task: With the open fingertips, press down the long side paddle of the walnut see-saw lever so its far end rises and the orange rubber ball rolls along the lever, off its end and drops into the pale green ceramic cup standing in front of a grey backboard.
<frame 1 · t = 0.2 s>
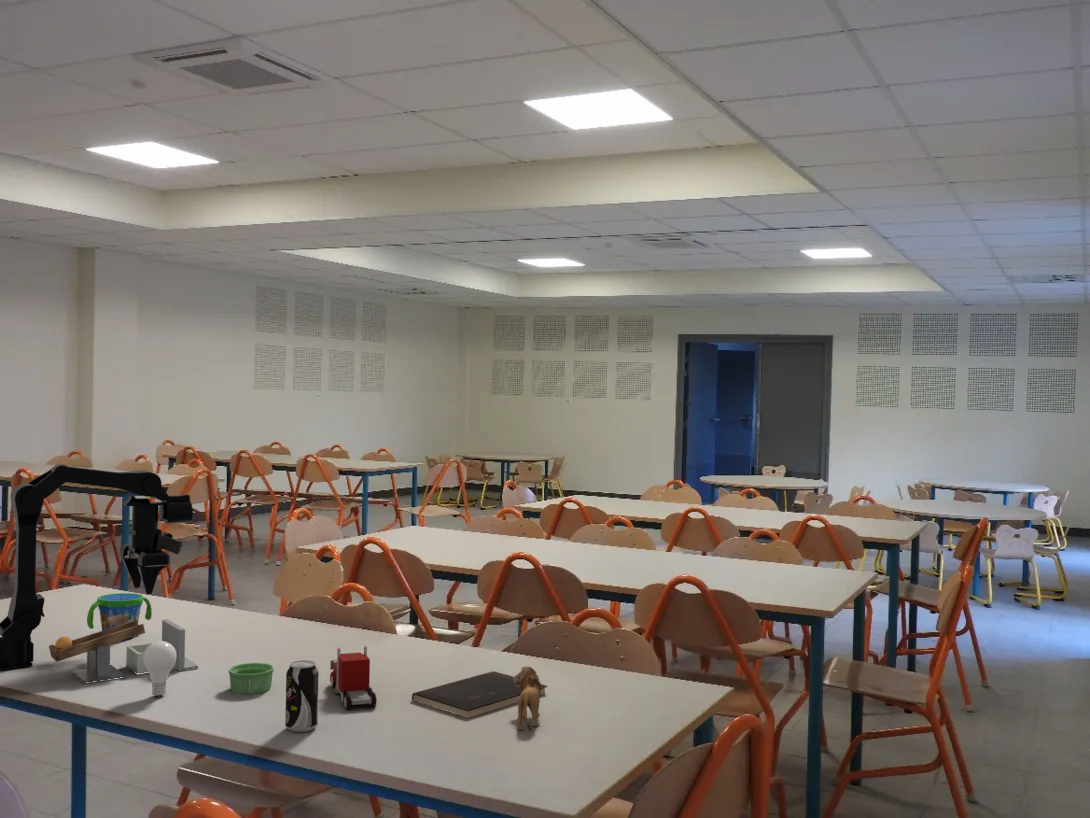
hand: (143, 590, 237), 14 cm above the table, tool pointing down, fingers open, 9 cm apart
snack cup: (119, 638, 248), on the table
toy truck: (352, 698, 205), on the table
lion figurine: (526, 721, 191), on the table
ball: (63, 644, 211), point 8 cm above the table, tilted 10°, touching lever
hardcover book: (480, 701, 206), on the table
lever: (90, 634, 220), point 8 cm above the table, hinge at -12.0°, touching ball
beverage can: (301, 729, 184), on the table
fulcrum: (98, 675, 215), on the table
lightbulb: (158, 697, 201), on the table
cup: (151, 667, 222), on the table
ramekin: (250, 690, 208), on the table
backboard: (172, 664, 225), on the table
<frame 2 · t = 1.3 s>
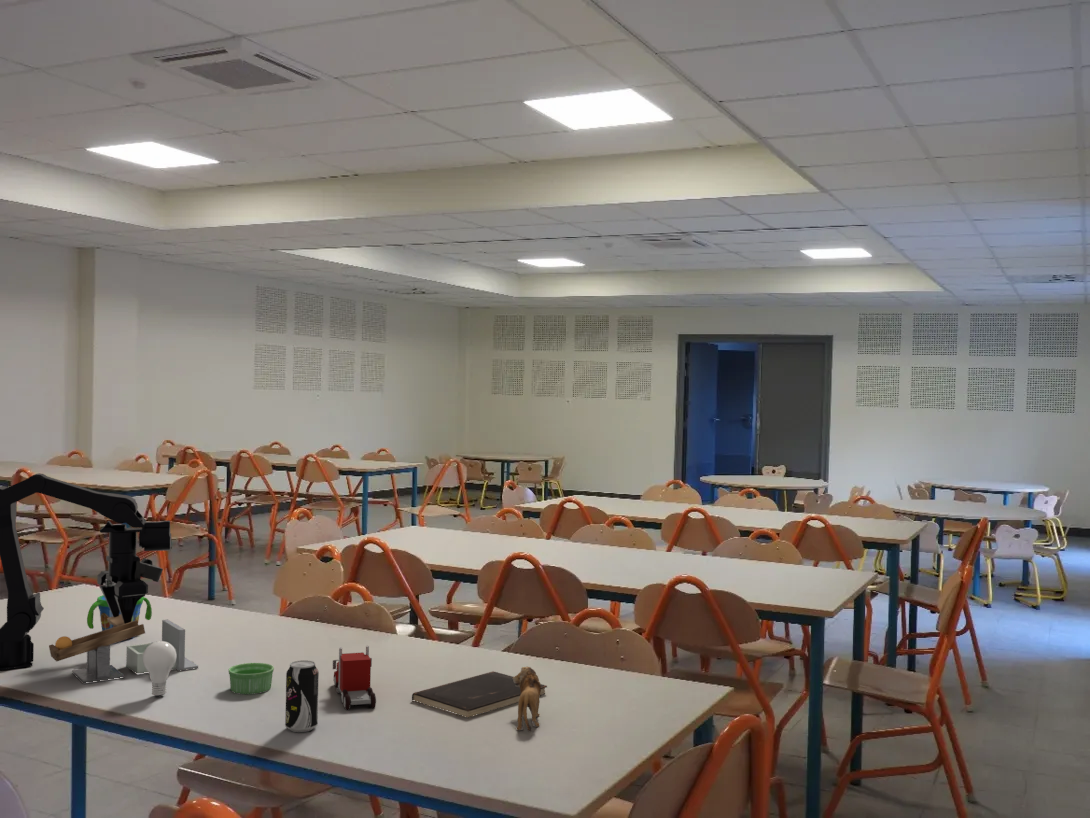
hand: (121, 620, 228), 9 cm above the table, tool pointing down
lever: (90, 634, 220), point 8 cm above the table, hinge at -11.6°, touching ball, gripper
everything else where it was.
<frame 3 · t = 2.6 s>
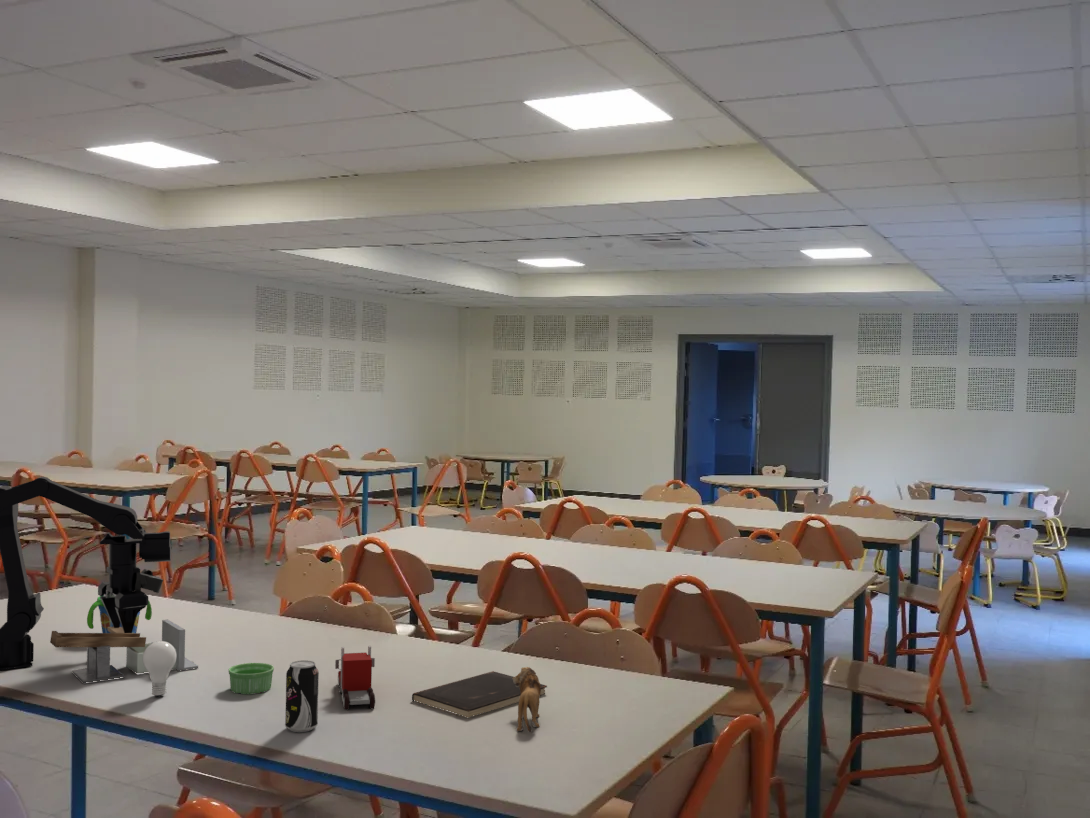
hand: (122, 631, 228), 6 cm above the table, tool pointing down
ball: (158, 653, 223), point 3 cm above the table, tilted 55°
lever: (91, 634, 220), point 8 cm above the table, hinge at 7.5°, touching gripper
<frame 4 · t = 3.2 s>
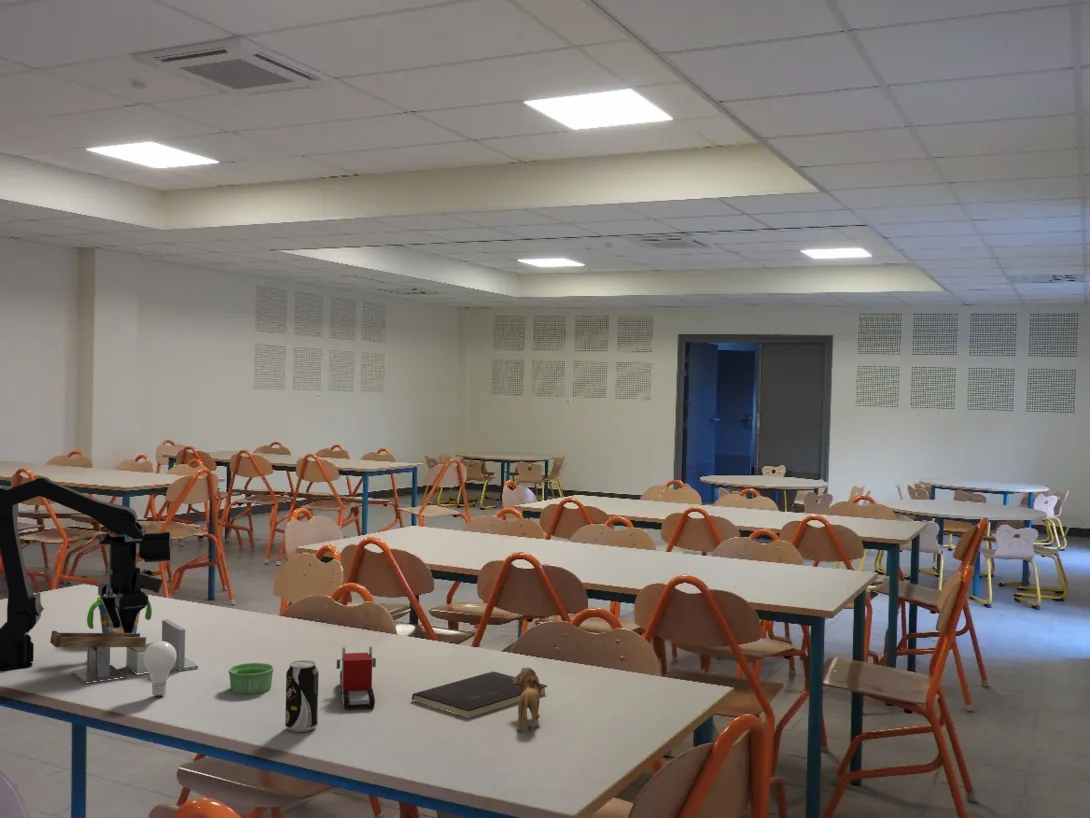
hand: (122, 631, 228), 6 cm above the table, tool pointing down
ball: (143, 659, 221), point 2 cm above the table, tilted 173°, touching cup
lever: (91, 634, 220), point 8 cm above the table, hinge at 7.6°, touching gripper
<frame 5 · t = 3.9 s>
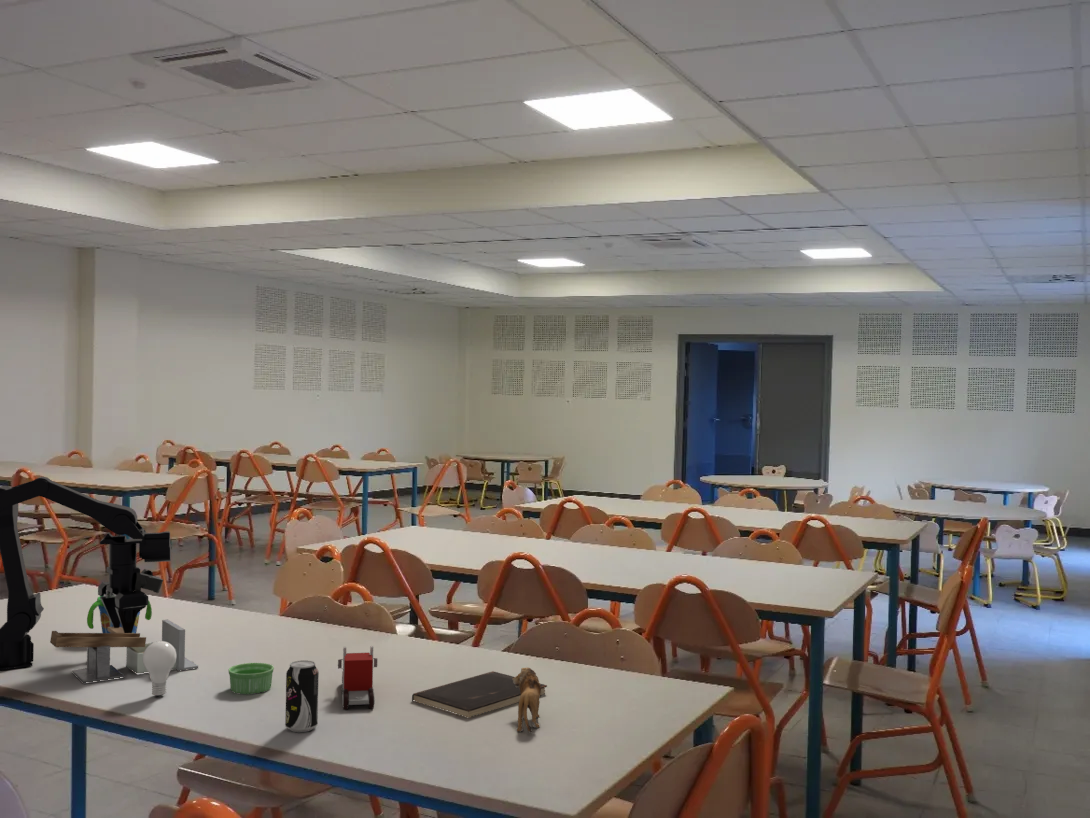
hand: (122, 631, 228), 6 cm above the table, tool pointing down
lever: (91, 634, 220), point 8 cm above the table, hinge at 7.6°, touching gripper
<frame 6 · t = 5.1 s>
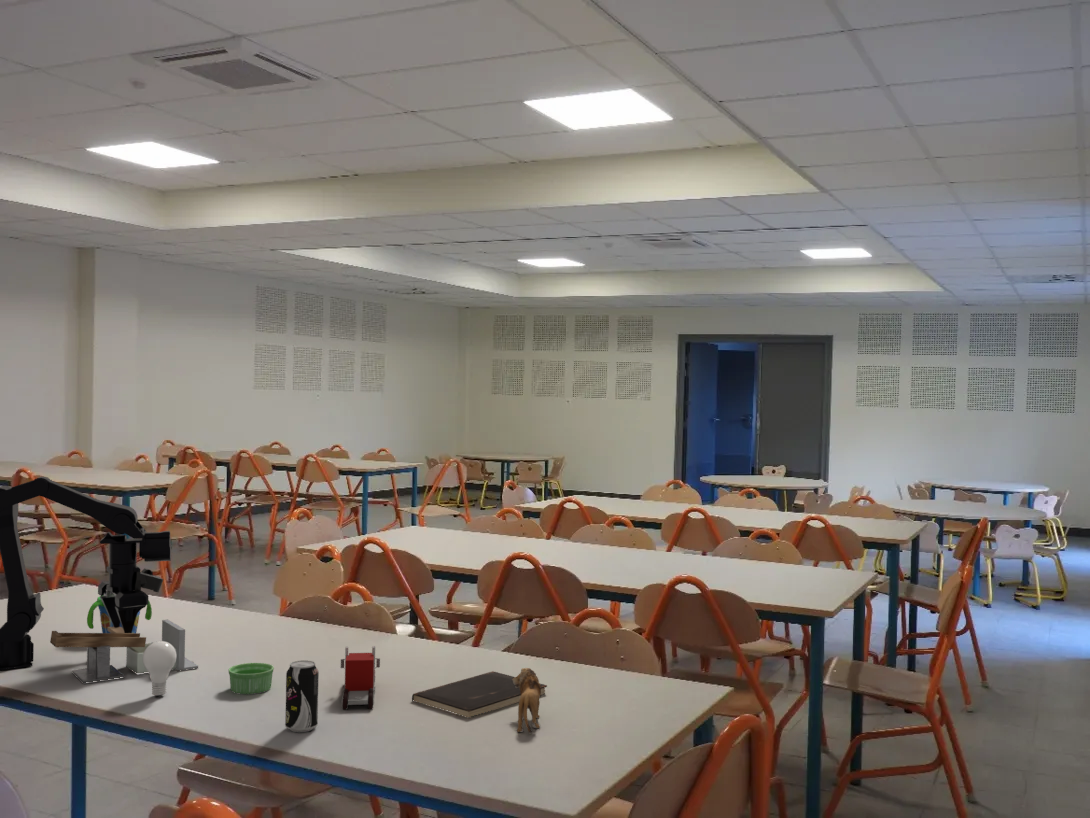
hand: (122, 631, 228), 6 cm above the table, tool pointing down, fingers open, 9 cm apart
ball: (149, 658, 222), point 2 cm above the table, tilted 143°, touching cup
lever: (91, 634, 220), point 8 cm above the table, hinge at 7.6°, touching gripper
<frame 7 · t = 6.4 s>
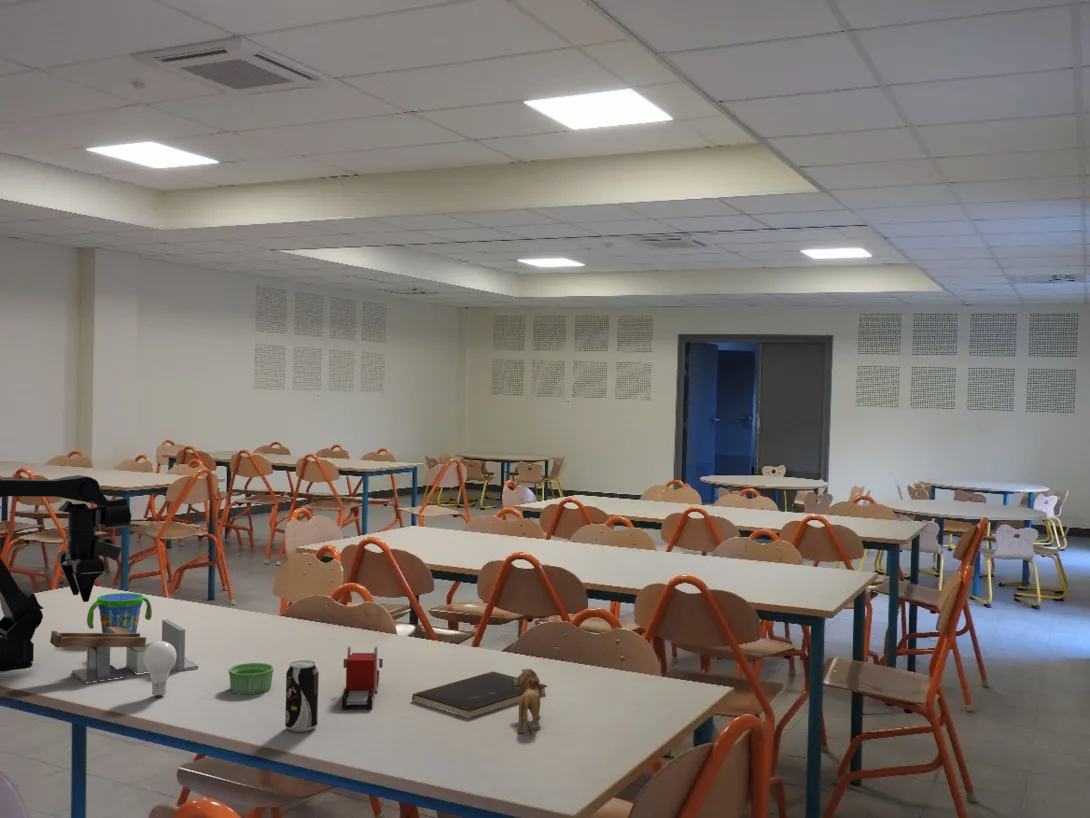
hand: (80, 598, 231), 13 cm above the table, tool pointing down, fingers open, 9 cm apart
ball: (153, 658, 222), point 2 cm above the table, tilted 114°, touching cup
lever: (91, 634, 220), point 8 cm above the table, hinge at 7.6°
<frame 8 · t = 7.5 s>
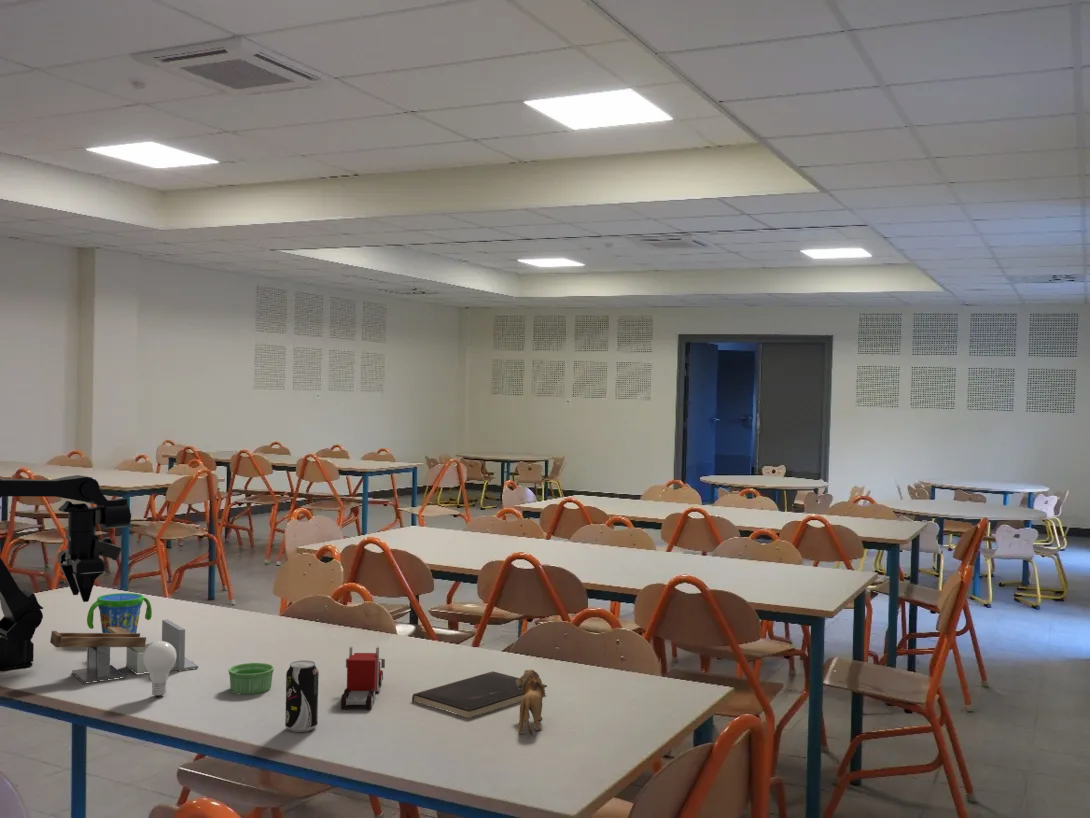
hand: (80, 598, 231), 13 cm above the table, tool pointing down, fingers open, 9 cm apart
ball: (156, 657, 223), point 2 cm above the table, tilted 89°, touching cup
at the end: ball 1.1 cm from the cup (horizontally); ball inside the target area on the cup (1.1 cm from its centre), point 2.1 cm above the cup's base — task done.
